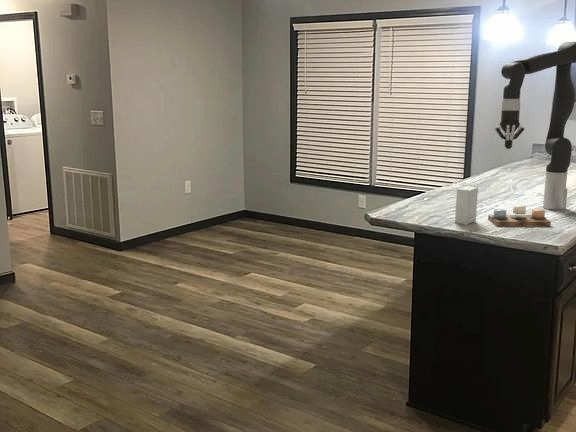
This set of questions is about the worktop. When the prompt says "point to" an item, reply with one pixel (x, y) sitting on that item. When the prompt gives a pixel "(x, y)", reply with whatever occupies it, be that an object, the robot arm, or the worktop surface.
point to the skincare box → (466, 205)
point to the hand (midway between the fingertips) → (508, 148)
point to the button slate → (499, 213)
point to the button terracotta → (538, 213)
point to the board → (519, 221)
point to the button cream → (519, 209)
